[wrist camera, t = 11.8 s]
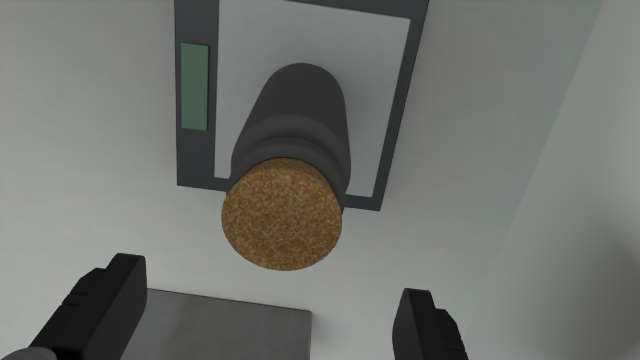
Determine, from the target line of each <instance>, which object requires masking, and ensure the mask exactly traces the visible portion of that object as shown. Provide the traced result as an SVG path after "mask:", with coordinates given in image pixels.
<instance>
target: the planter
mask: <svg viewBox="0 0 640 360" xmlns="http://www.w3.org/2000/svg"><path fill="white" fill-rule="evenodd" d="M311 323H312V314H311V313H310V312H309V311H302V310H294V309H287V308H280V307H273V306H266V305H259V304H251V303H244V302H237V301H230V300H223V299H216V298H209V297H201V296H194V295H187V294H180V293H173V292H166V291H158V290H153V289H147V303H146V307H145V310H144V313H143V315H142V317H141V319H140V321H139V323H138V325H137V327H136V329H135V331H134V333H133V335H132V337H131V339H130V341H129V343H128V345H127V347H126V349H125V351H124V353H123V355H122V357H121V359H120V360H310V343H311Z"/></svg>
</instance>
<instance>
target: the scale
mask: <svg viewBox="0 0 640 360" xmlns="http://www.w3.org/2000/svg"><path fill="white" fill-rule="evenodd" d="M428 3H429V0H174V6H175V78H176V149H177V185H178V186H186V187H194V188H202V189H209V190H217V191H225V192H226V190H227V183H228V179H229V176H230V174H231V156H232V153H233V149H234V146H235V144H236V141H237V139H238V137H239V135H240V133H241V131H242V129H243V127H244V125H245V122H246V120H247V118H248V116H249V114H250V112H251V110H252V108H253V106H254V104H255V102H256V100H257V98H258V96H259V94H260V92H261V90H262V88H263V87H264V85H265V83H266V82H267V80H268V79H269V78H270V77H271V75H272V74H274V73H275V72H276V71H278V70H279V69H281V68H282V67H285V66H287V65H291V64H295V63H308V64H313V65H316V66H319V67H321V68H323V69H325V70H326V71H328V72H329V73H330V74H331V75H332V76H333V77H334V78H335V79H336V80H337V82H338V84H339V85H340V87H341V89H342V92H343V95H344V100H345V106H346V116H347V125H348V135H349V144H350V156H351V176H350V182H349V185H348V188H347V191H346V198H345V207H349V208H357V209H365V210H373V211H380V209H381V205H382V200H383V196H384V192H385V188H386V183H387V179H388V175H389V170H390V166H391V162H392V158H393V153H394V149H395V145H396V140H397V136H398V132H399V127H400V123H401V119H402V115H403V110H404V106H405V102H406V97H407V93H408V89H409V85H410V80H411V76H412V72H413V67H414V63H415V59H416V55H417V50H418V46H419V42H420V37H421V33H422V29H423V25H424V20H425V16H426V12H427V7H428Z"/></svg>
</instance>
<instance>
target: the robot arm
mask: <svg viewBox="0 0 640 360" xmlns="http://www.w3.org/2000/svg"><path fill="white" fill-rule="evenodd" d="M146 303H147V277H146V261H145V257H144V256H141V255H133V254H124V253H117V254H116V255H115V256H114V257H113V259H112V260H111V262H110V263H109V265H108V266H107V267H106V269H103V268H95V269H93V270H92V271H90V272H89V273H88V274H86V275H85V276H83V277H82V278H80V279H79V281H78V282H77V283H76V285H75V286H74V287H73V289H72V290H71V291H70V294H68V295H67V297H66V298H65V299H64V301H63V302H62V305H60V306H59V307H58V308H57V310H56V311H55V312H54V314H53V315H52V316H51V318H50V319H49V320H48V322H47V323H46V324H45V326H44V327H43V328H42V330H41V331H40V332H39V334H38V335H37V336H36V338H35V339H34V340H33V342H32V343H31V344H30V345H29V347H28V348H24V349H20V350H18V351H15V352H13V353H11V354H9V355H7V356H6V357H4V358H3V359H1V360H120V359H121V357H122V355H123V353H124V351H125V349H126V347H127V345H128V343H129V341H130V339H131V337H132V335H133V333H134V331H135V329H136V327H137V325H138V323H139V321H140V319H141V317H142V315H143V313H144V310H145V307H146ZM392 343H393V350H394V356H395V360H469V359H468V356H467V353H466V352H465V348H464V345H463V342H462V340H461V336H460V333H459V330H458V327H457V324H456V322H455V321H454V320H453V318H452V317H451V316H450V315H449V314H448V312H447V311H446V310H445V309H436V308H435V305H434V302H433V299H432V295H431V293H430V291H428V290H419V289H411V288H405V289H404V291H403V293H402V297H401V300H400V303H399V307H398V310H397V314H396V317H395V321H394V324H393V332H392Z"/></svg>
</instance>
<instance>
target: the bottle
mask: <svg viewBox="0 0 640 360" xmlns="http://www.w3.org/2000/svg"><path fill="white" fill-rule="evenodd" d="M350 176H351V156H350V144H349V135H348V125H347V116H346V106H345V100H344V95H343V92H342V89H341V87H340V85H339V84H338V82H337V80H336V79H335V78H334V77H333V76H332V75H331V74H330V73H329V72H328V71H326V70H325V69H323V68H321V67H319V66H316V65H313V64H308V63H295V64H291V65H287V66H285V67H282V68H281V69H279V70H278V71H276V72H275V73H274V74H272V75H271V77H270V78H269V79H268V80H267V82H266V83H265V85H264V87H263V88H262V90H261V92H260V94H259V96H258V98H257V100H256V102H255V104H254V106H253V108H252V110H251V112H250V114H249V116H248V118H247V120H246V122H245V125H244V127H243V129H242V131H241V133H240V135H239V137H238V139H237V141H236V144H235V146H234V149H233V153H232V156H231V174H230V176H229V179H228V183H227V190H226V199H225V201H224V204H223V208H222V226H223V230H224V233H225V235H226V238H227V239H228V241H229V243H230V244H231V246H232V247H233V248H234V249H235V250H236V251H237V252H238V253H239V254H240V255H241V256H242V257H244V258H245V259H247V260H248V261H250V262H252V263H254V264H256V265H258V266H261V267H264V268H267V269H272V270H279V271H291V270H298V269H302V268H306V267H309V266H311V265H313V264H315V263H317V262H319V261H320V260H322V259H323V258H324V257H326V256H327V255H328V254H329V253H330V252H331V250H332V249H333V248H334V247H335V245H336V243H337V241H338V239H339V237H340V234H341V230H342V214H343V211H344V207H345V198H346V191H347V188H348V185H349V182H350Z"/></svg>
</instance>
